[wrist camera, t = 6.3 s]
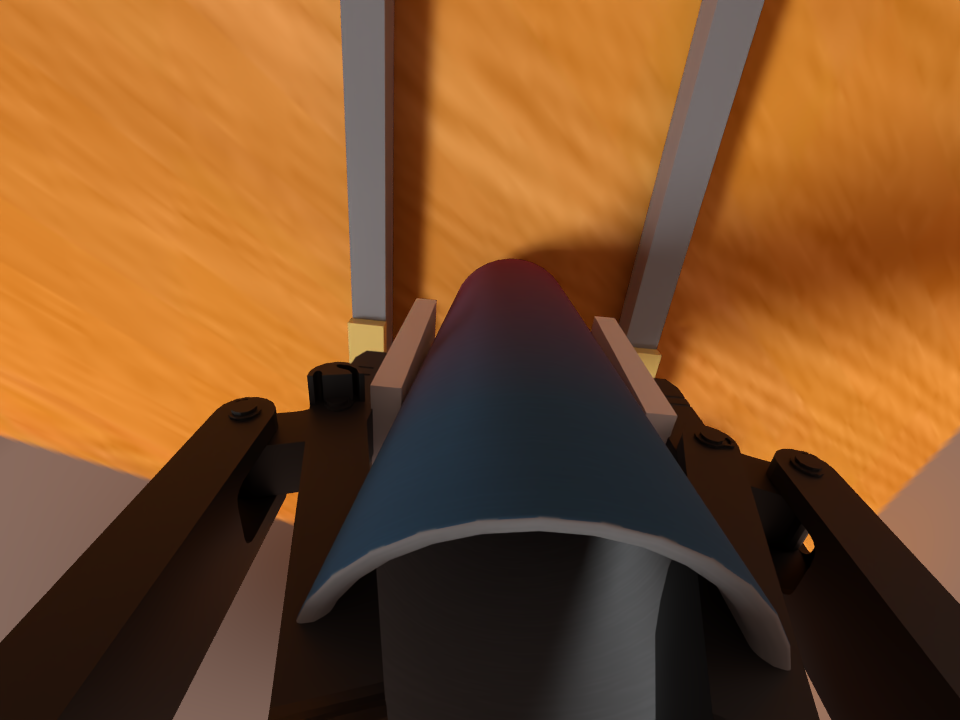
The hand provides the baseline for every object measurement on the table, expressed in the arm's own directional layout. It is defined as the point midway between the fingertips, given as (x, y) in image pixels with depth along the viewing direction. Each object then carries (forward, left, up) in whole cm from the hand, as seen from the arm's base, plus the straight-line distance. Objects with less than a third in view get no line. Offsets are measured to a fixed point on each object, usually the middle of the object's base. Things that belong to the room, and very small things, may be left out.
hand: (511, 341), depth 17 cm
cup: (0, 0, -3) cm, 3 cm away
